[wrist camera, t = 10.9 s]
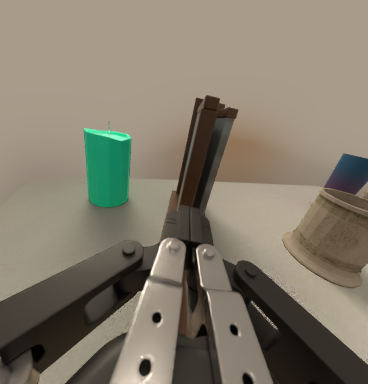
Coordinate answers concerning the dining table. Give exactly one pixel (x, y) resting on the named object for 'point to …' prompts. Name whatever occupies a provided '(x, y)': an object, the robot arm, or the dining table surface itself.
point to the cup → (349, 174)
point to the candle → (107, 166)
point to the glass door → (198, 149)
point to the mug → (333, 237)
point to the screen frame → (203, 176)
